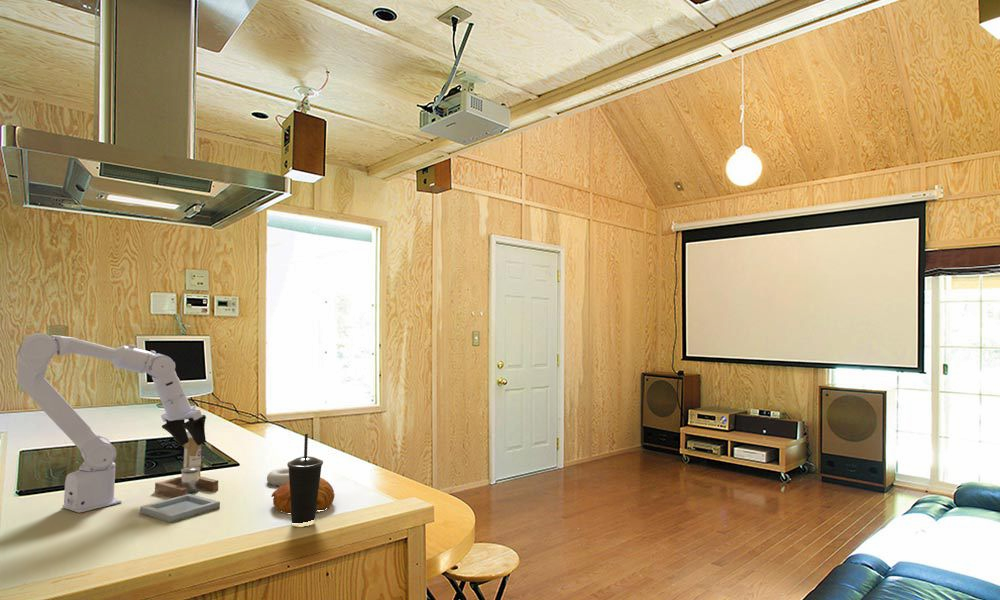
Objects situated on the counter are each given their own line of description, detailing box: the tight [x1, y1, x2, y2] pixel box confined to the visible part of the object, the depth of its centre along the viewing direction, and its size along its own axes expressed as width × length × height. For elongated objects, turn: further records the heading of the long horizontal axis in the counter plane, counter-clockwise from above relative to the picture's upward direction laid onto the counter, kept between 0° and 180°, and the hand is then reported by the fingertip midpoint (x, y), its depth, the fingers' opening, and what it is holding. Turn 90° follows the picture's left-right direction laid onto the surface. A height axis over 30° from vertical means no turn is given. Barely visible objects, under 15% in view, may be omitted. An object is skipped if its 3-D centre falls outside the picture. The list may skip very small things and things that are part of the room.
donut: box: [266, 467, 289, 487], centre depth 161 cm, size 10×4×10 cm
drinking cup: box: [286, 433, 324, 524], centre depth 129 cm, size 8×8×20 cm
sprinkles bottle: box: [183, 429, 202, 476], centre depth 165 cm, size 5×5×13 cm
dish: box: [139, 494, 221, 524], centre depth 136 cm, size 12×12×2 cm
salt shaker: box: [180, 467, 201, 495], centre depth 150 cm, size 4×4×6 cm
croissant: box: [271, 477, 335, 514], centre depth 141 cm, size 14×16×8 cm
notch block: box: [154, 475, 219, 498], centre depth 151 cm, size 10×12×2 cm
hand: (193, 443), depth 153 cm, fingers open, 7 cm apart
